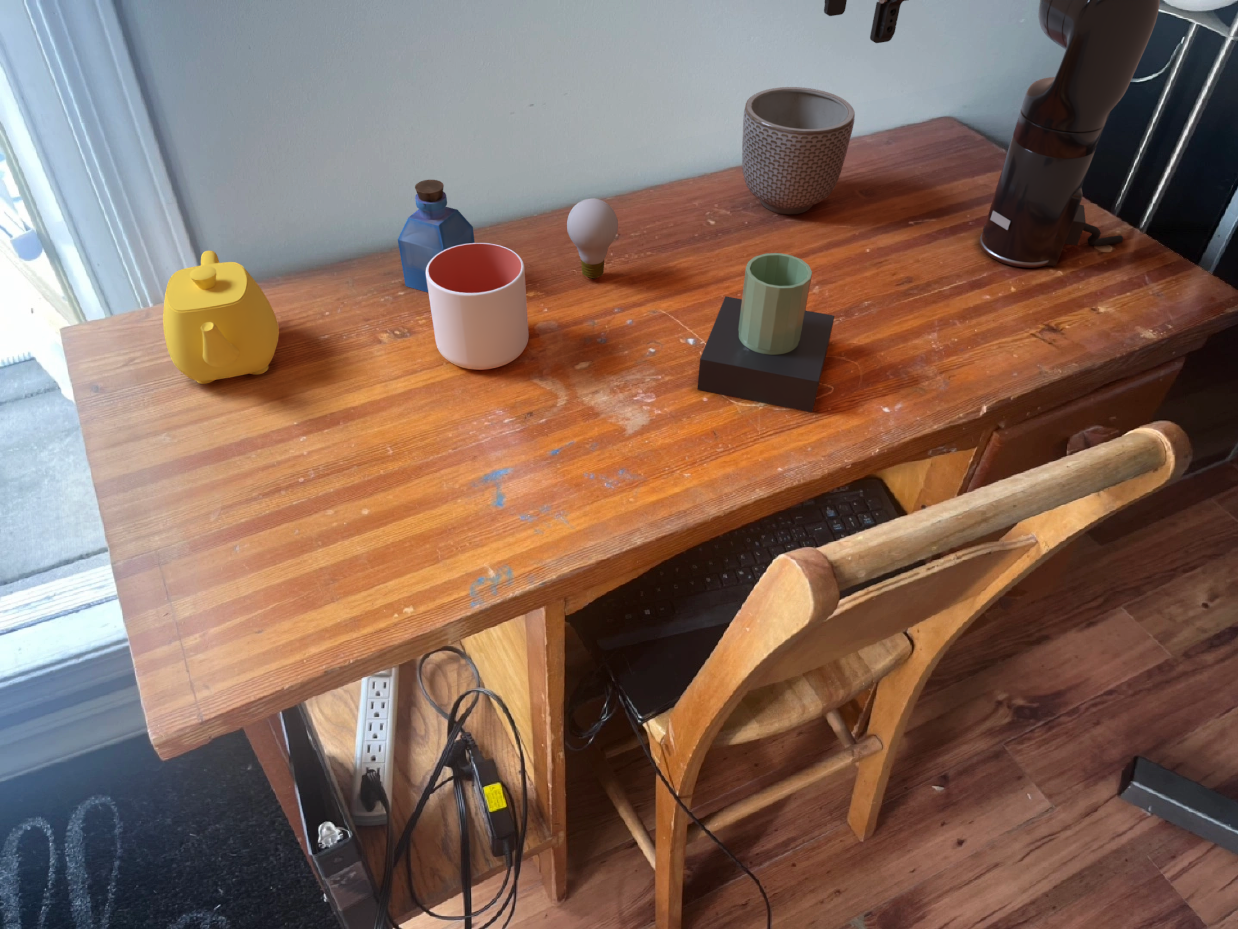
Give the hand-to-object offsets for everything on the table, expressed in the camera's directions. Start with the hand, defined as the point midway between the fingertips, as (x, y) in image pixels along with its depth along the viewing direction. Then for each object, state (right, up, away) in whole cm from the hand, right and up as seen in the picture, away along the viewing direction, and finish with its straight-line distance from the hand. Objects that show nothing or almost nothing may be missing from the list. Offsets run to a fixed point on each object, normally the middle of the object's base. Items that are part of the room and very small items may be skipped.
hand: (856, 27), depth 97 cm
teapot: (-66, -34, +4) cm, 74 cm away
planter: (-2, -9, +31) cm, 33 cm away
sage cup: (-9, -32, +2) cm, 33 cm away
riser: (-9, -34, +4) cm, 36 cm away
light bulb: (-27, -23, +17) cm, 39 cm away
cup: (-39, -32, +6) cm, 51 cm away
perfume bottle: (-45, -23, +16) cm, 53 cm away
